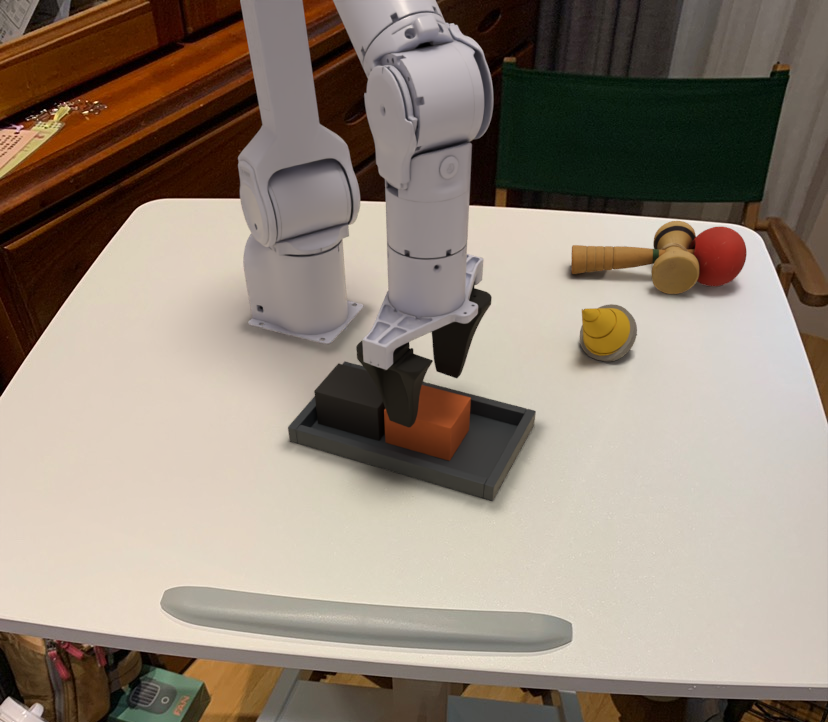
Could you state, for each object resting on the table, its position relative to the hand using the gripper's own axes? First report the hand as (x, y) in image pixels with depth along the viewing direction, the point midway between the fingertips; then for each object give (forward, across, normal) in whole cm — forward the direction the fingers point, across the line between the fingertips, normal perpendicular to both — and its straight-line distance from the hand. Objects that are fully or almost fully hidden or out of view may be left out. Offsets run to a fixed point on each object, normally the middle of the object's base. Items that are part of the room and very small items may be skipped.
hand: (425, 396), depth 68 cm
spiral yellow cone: (+5, +19, -8) cm, 22 cm away
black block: (+4, -1, +6) cm, 8 cm away
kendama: (+5, +36, -7) cm, 37 cm away
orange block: (+4, 0, 0) cm, 4 cm away
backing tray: (+5, 0, +1) cm, 5 cm away
